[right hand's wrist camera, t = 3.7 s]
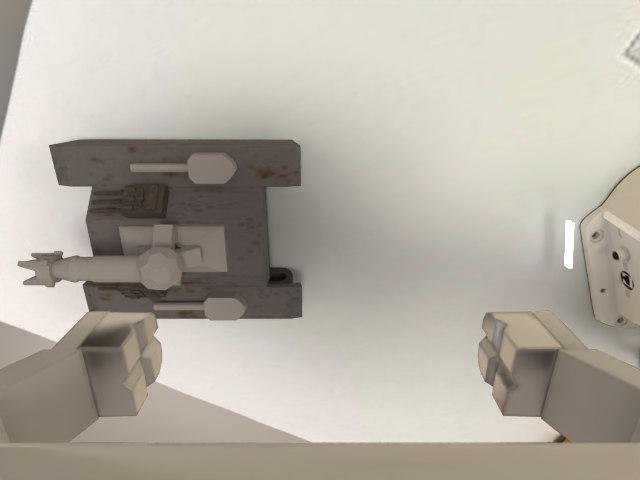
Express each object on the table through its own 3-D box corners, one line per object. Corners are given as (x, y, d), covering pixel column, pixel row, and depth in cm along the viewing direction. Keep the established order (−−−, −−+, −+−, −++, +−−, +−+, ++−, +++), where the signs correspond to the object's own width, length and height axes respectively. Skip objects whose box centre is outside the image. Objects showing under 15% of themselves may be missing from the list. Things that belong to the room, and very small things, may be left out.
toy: (302, 137, 47) (294, 166, 33) (304, 296, 54) (299, 373, 40) (73, 137, 47) (-30, 165, 33) (107, 296, 54) (34, 373, 40)
